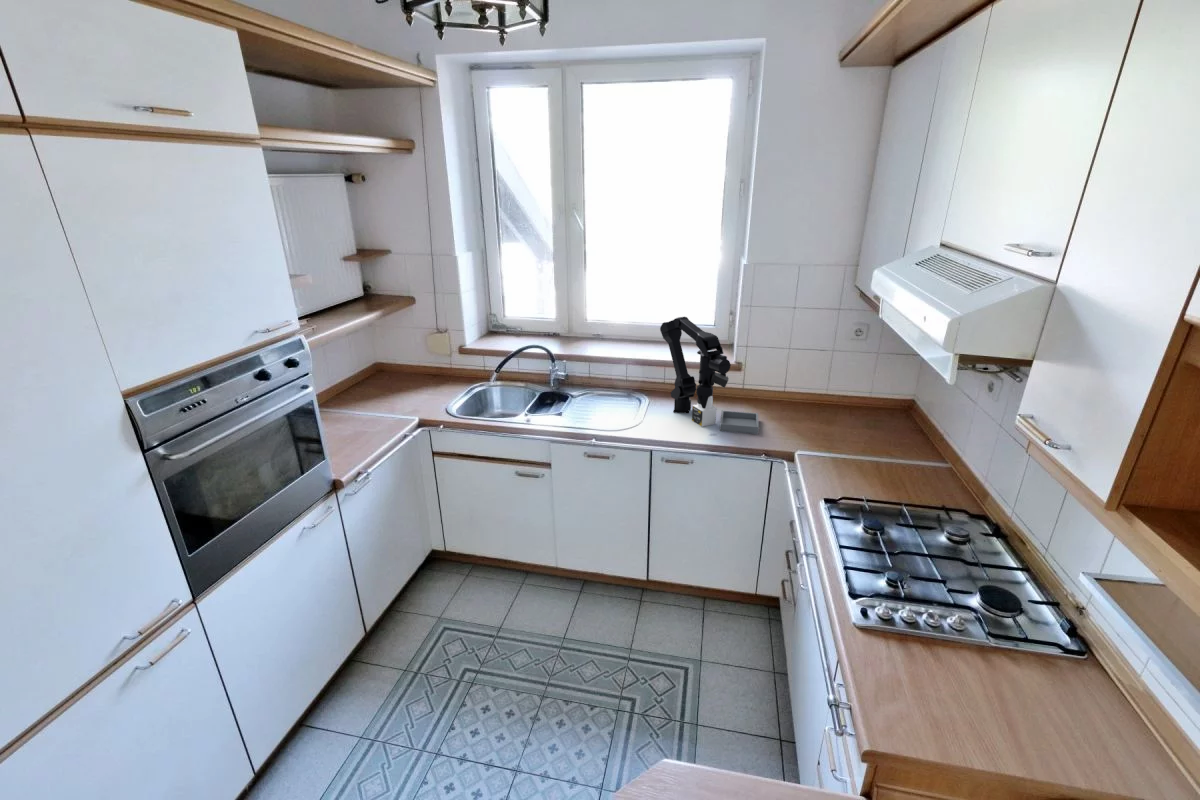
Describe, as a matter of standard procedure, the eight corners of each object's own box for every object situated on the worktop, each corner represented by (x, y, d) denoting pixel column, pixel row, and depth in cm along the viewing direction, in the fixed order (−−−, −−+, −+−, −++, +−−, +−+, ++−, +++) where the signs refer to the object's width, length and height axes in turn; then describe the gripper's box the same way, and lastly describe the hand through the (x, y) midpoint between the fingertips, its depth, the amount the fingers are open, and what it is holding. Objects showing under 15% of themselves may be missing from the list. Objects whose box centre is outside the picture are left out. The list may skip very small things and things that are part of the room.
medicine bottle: (691, 420, 231) (692, 393, 226) (705, 417, 233) (707, 390, 229) (701, 427, 225) (703, 399, 220) (716, 424, 227) (718, 396, 223)
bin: (719, 430, 221) (720, 423, 220) (721, 417, 234) (721, 410, 233) (758, 434, 218) (758, 427, 217) (757, 420, 231) (757, 413, 230)
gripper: (727, 375, 210) (724, 414, 216) (728, 361, 227) (725, 397, 233) (697, 373, 213) (695, 412, 218) (700, 359, 230) (698, 395, 235)
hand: (704, 404), depth 226 cm, fingers open, 9 cm apart
